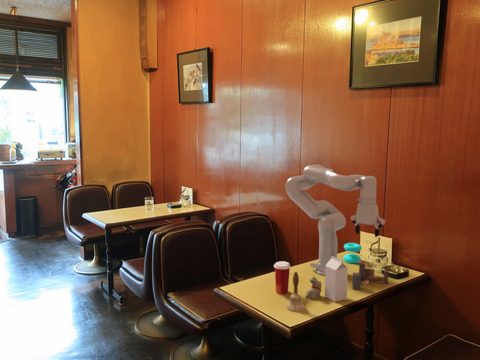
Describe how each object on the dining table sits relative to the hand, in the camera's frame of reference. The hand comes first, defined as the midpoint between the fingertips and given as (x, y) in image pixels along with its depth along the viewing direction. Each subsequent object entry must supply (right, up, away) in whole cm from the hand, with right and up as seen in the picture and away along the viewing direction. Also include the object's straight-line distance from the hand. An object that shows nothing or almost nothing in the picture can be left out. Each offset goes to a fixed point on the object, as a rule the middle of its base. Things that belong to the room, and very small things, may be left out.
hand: (367, 234), depth 193 cm
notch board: (+5, -24, +5) cm, 25 cm away
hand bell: (-39, -29, -24) cm, 54 cm away
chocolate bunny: (-29, -27, -13) cm, 42 cm away
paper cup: (-43, -26, -8) cm, 51 cm away
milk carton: (-19, -27, -14) cm, 36 cm away
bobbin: (-2, -25, +4) cm, 25 cm away
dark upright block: (-6, -26, -3) cm, 27 cm away
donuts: (+3, -21, +35) cm, 41 cm away
